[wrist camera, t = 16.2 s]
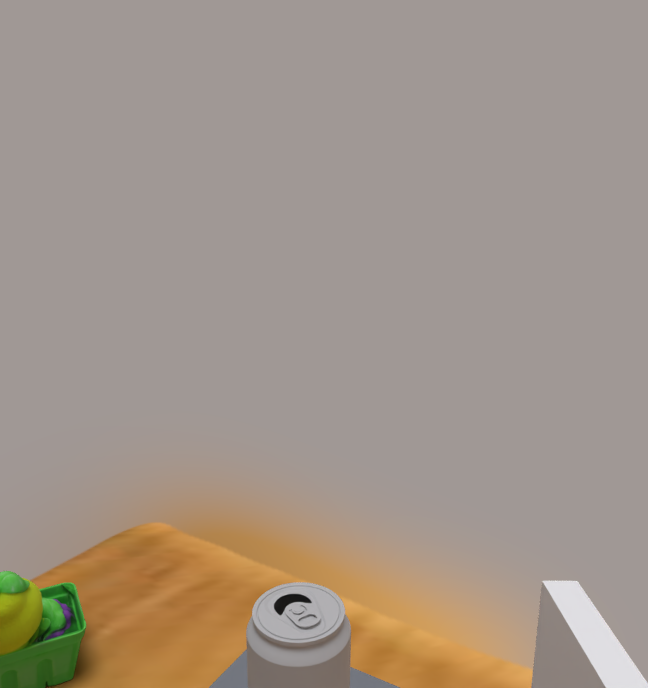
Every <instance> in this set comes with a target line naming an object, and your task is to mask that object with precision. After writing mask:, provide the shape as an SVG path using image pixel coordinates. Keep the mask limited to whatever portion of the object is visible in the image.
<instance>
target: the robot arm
mask: <svg viewBox="0 0 648 688" xmlns="http://www.w3.org/2000/svg"><path fill="white" fill-rule="evenodd" d="M531 688H648V683H647V682H646V680H645V679H644V677H643V676H642V674H641V673H640V671H639V670H638V669H637V667H636V666H635V664H634V663H633V661H632V660H631V658H630V657H629V655H628V654H627V653H626V651H625V650H624V648H623V647H622V645H621V644H620V642H619V641H618V640H617V638H616V637H615V635H614V634H613V632H612V631H611V629H610V628H609V626H608V625H607V624H606V622H605V621H604V619H603V618H602V616H601V615H600V613H599V612H598V611H597V609H596V608H595V606H594V605H593V603H592V602H591V600H590V599H589V597H588V596H587V595H586V593H585V592H584V590H583V589H582V587H581V586H580V585H579V583H578V581H542V588H541V597H540V608H539V618H538V627H537V637H536V648H535V657H534V667H533V677H532V687H531Z"/></svg>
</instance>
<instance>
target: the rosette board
mask: <svg viewBox="0 0 648 688" xmlns="http://www.w3.org/2000/svg"><path fill="white" fill-rule="evenodd" d="M209 688H248V672H247V649H246V651H245V652H244V653H243V654H242V655H241V656H240V657H239V658H238V659H237V660H236V661H235V662H234V663H233V664H232V665H231V666H230V667H229V668H228V669H227V670H226V671H225V672H224V673H223V674H222V675H221V676H220V677H219V678H218V679H217V680H216V681H215V682H214V683H213V684H212V685H211V686H210V687H209ZM350 688H399V687H397V686H395V685H392V684H390V683H387V682H385V681H383V680H380V679H378V678H376V677H373V676H371V675H368V674H366V673H364V672H361V671H359V670H356V669H354V668H352V667H350Z"/></svg>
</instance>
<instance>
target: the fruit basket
mask: <svg viewBox="0 0 648 688" xmlns="http://www.w3.org/2000/svg"><path fill="white" fill-rule="evenodd" d="M85 629H86V622H85V619H84V615H83V611H82V608H81V604H80V601H79V597H78V593H77V589H76V586H75V584H73V583H61V584H57V585H54V586H50V587H46V588H43V589H39V588H38V587H37V586H36V585H35V584H34V583H32V582H31V581H29V580H27V579H25V578H21V577H20V576H19V575H17V574H16V573H13V572H10V571H4V572H0V688H45V687H46V686H54V685H57V684H60V683H63V682H66V681H69V680H71V679H72V678H73V676H74V672H75V667H76V662H77V658H78V653H79V648H80V643H81V639H82V637H83V636H84V633H85Z"/></svg>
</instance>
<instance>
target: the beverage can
mask: <svg viewBox="0 0 648 688" xmlns="http://www.w3.org/2000/svg"><path fill="white" fill-rule="evenodd" d="M246 633H247V672H248V688H350V650H351V626H350V622H349V620H348V618H347V616H346V614H345V608H344V604H343V602H342V600H341V599H340V598H339V596H338V595H337V594H335V593H334V592H333V591H331V590H330V589H328V588H326V587H323V586H320V585H317V584H312V583H288V584H283V585H280V586H277V587H274V588H272V589H270V590H268V591H267V592H265V593H264V594H263V595H261V596H260V597H259V599H258V600H257V601H256V603H255V604H254V607H253V611H252V617H251V619H250V621H249V623H248V626H247V631H246Z"/></svg>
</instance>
